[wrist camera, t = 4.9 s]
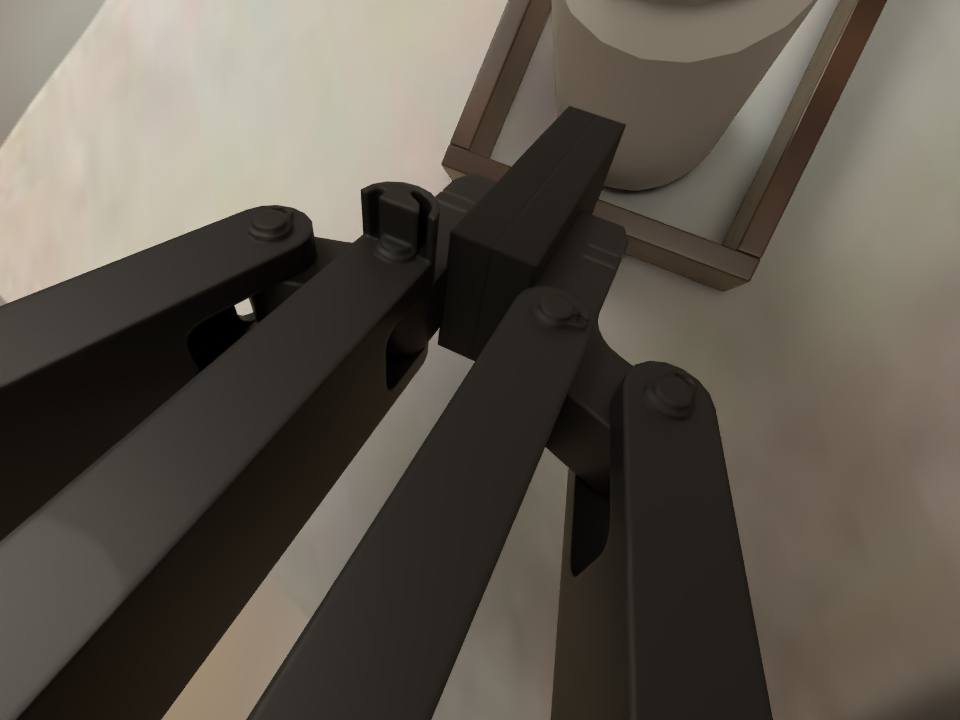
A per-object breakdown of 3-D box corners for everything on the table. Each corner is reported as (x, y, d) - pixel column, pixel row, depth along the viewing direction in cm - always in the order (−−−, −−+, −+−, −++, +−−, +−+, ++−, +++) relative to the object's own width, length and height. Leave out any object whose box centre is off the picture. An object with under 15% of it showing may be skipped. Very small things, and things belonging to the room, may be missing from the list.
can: (539, 73, 22) (508, -234, 11) (696, 12, 21) (860, -421, 9) (580, 218, 22) (593, 67, 10) (741, 166, 21) (968, -78, 9)
